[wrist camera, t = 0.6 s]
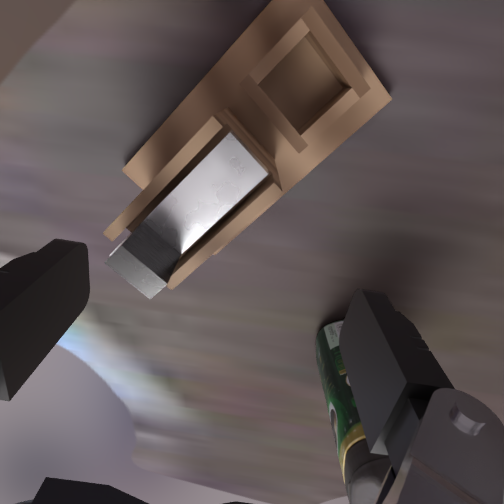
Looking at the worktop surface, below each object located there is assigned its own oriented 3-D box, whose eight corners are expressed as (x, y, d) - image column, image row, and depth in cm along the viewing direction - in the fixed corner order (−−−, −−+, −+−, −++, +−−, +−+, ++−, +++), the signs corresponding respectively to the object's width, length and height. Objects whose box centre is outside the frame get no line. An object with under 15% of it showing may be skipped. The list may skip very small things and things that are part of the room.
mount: (299, -28, 25) (328, -115, 15) (388, 98, 29) (463, 103, 18) (125, 168, 32) (59, 206, 21) (215, 251, 36) (197, 319, 25)
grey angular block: (231, 129, 21) (223, 141, 16) (267, 168, 22) (270, 191, 17) (117, 246, 25) (82, 285, 20) (153, 275, 26) (128, 319, 21)
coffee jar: (380, 372, 43) (459, 553, 26) (317, 378, 43) (355, 559, 27) (380, 310, 39) (474, 478, 22) (311, 318, 39) (351, 487, 22)
